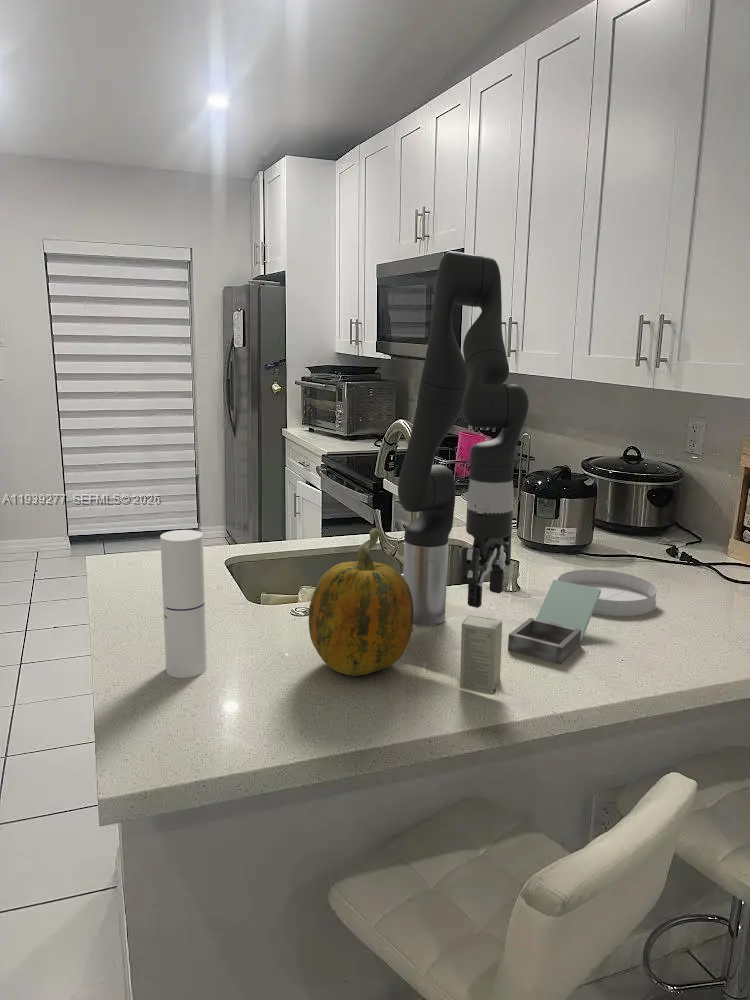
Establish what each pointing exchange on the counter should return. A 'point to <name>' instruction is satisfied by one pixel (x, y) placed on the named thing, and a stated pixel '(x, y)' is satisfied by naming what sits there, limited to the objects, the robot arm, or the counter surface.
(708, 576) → the counter surface
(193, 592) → the cylindrical container
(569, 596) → the open box lid
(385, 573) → the pumpkin
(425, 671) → the counter surface
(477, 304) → the robot arm
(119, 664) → the counter surface
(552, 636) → the dark grey tray
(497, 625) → the skincare box
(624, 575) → the dish
